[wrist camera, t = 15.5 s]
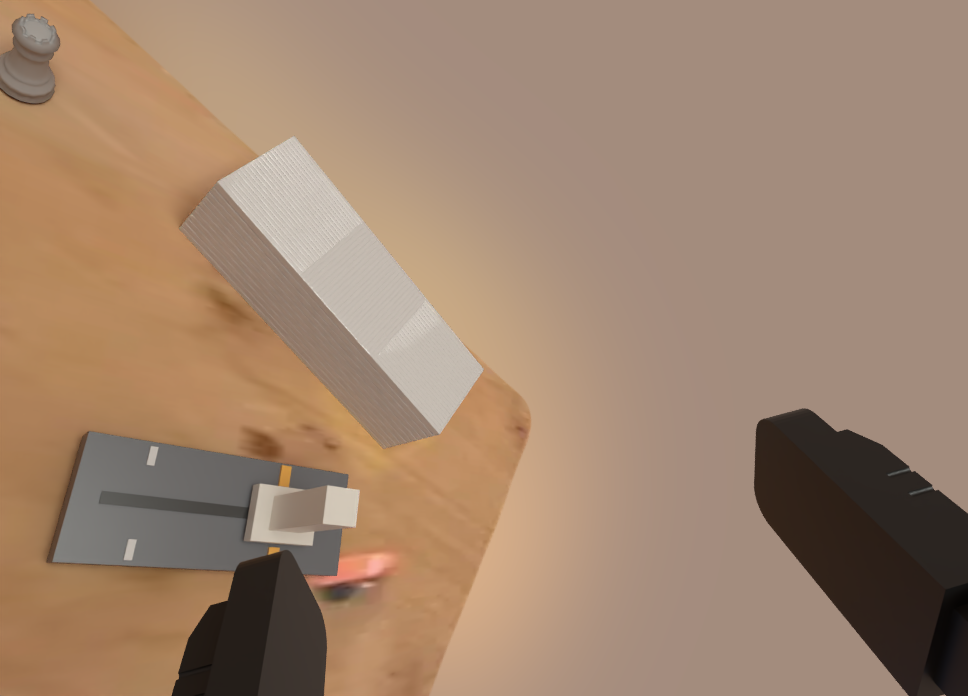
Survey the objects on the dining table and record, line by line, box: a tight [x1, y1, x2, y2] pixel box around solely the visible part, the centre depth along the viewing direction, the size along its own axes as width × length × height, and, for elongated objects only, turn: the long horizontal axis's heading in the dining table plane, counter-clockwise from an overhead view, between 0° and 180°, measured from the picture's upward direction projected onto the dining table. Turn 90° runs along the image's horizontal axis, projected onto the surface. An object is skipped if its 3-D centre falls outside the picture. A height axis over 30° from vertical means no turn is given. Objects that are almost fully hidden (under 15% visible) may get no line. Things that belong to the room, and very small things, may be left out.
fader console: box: [47, 431, 348, 576], centre depth 55 cm, size 24×10×3 cm, turn 88°
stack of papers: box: [179, 136, 484, 449], centre depth 66 cm, size 32×11×11 cm, turn 54°
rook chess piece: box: [0, 14, 60, 103], centre depth 52 cm, size 4×4×8 cm
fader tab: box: [244, 483, 360, 546], centre depth 53 cm, size 6×5×12 cm
